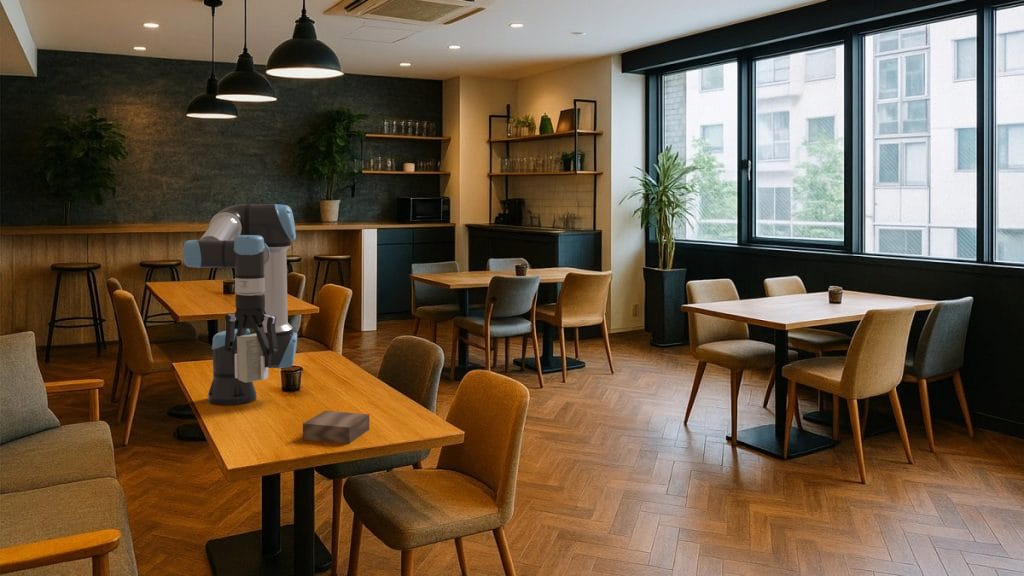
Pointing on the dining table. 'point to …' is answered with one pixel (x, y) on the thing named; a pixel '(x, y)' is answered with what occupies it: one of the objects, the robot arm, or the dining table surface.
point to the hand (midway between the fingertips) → (251, 377)
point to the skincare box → (249, 358)
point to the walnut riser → (336, 427)
